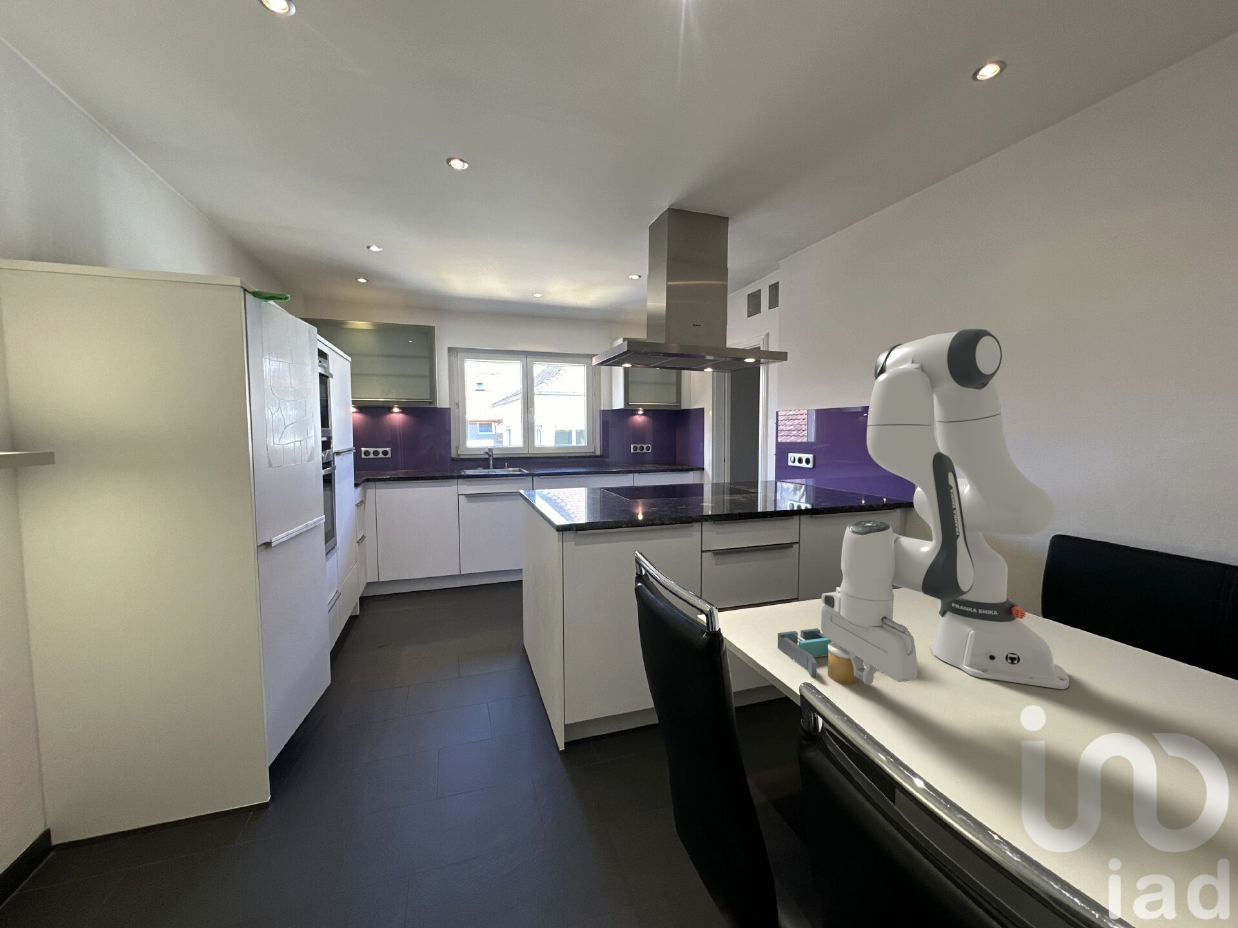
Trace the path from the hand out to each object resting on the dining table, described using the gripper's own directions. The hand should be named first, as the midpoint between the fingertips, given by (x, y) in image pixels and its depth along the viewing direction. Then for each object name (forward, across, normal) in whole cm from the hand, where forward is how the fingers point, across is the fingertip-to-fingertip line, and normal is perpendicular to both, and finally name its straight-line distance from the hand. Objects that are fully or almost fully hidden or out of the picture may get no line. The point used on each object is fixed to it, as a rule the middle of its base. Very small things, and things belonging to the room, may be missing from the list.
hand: (863, 679), depth 87 cm
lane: (+2, +13, 0) cm, 14 cm away
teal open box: (+2, +17, 0) cm, 17 cm away
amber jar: (+2, +6, 0) cm, 6 cm away
